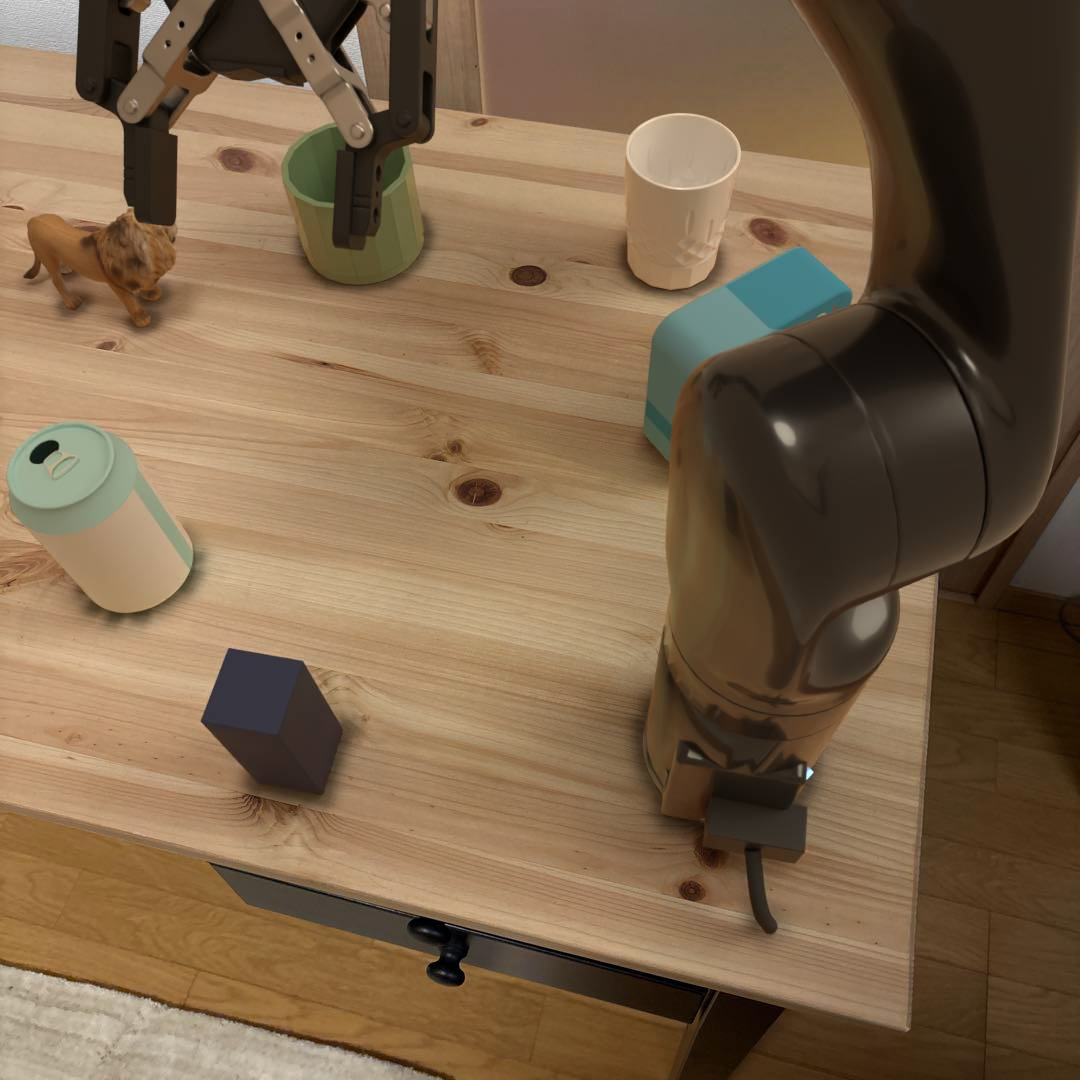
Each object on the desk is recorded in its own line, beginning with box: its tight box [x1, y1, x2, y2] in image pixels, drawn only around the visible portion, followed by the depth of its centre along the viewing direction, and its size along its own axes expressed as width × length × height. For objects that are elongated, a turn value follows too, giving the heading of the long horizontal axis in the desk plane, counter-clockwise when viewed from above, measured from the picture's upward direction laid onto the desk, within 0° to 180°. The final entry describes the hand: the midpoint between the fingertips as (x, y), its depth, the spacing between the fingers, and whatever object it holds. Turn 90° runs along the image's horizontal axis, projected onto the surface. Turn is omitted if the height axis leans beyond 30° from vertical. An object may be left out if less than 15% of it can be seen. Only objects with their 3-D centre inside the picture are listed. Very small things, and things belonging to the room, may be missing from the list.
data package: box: [642, 246, 854, 464], centre depth 64 cm, size 12×4×12 cm, turn 123°
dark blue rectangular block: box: [200, 647, 344, 795], centre depth 54 cm, size 4×4×10 cm
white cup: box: [624, 112, 742, 291], centre depth 73 cm, size 8×8×10 cm
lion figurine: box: [22, 207, 179, 328], centre depth 73 cm, size 15×5×9 cm, turn 77°
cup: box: [280, 122, 425, 286], centre depth 76 cm, size 9×9×8 cm
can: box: [5, 420, 194, 614], centre depth 59 cm, size 7×7×12 cm
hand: (251, 236), depth 42 cm, fingers open, 8 cm apart
